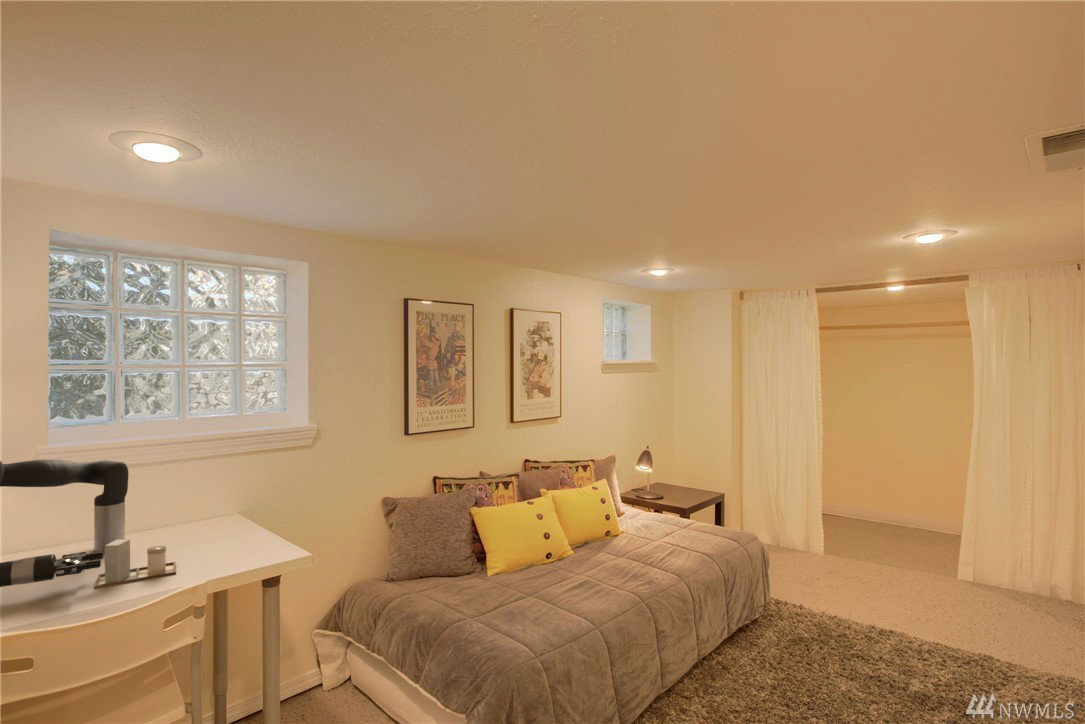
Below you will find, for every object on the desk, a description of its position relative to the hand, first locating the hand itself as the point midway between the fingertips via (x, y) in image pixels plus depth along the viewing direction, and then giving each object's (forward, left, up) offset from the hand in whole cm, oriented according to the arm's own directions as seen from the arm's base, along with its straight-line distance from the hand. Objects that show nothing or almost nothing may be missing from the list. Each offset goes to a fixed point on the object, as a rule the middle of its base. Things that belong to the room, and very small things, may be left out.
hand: (101, 559), depth 177 cm
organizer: (0, +9, -8) cm, 12 cm away
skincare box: (0, +4, -7) cm, 8 cm away
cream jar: (0, +14, -7) cm, 16 cm away
